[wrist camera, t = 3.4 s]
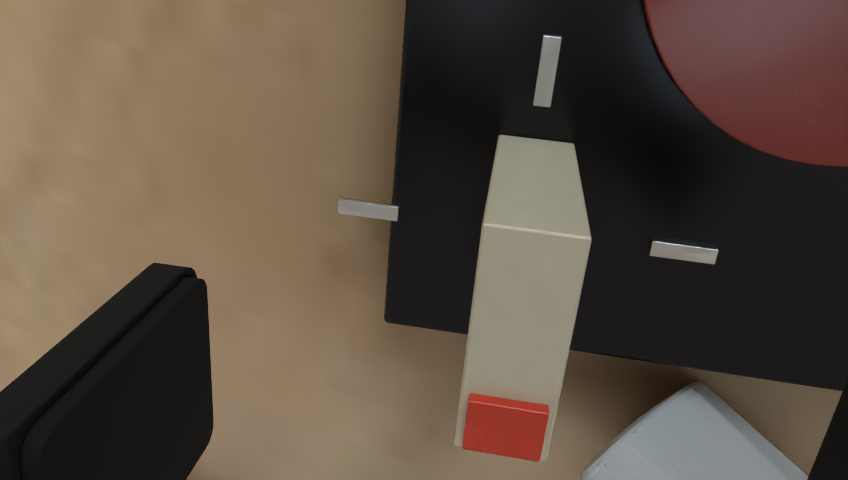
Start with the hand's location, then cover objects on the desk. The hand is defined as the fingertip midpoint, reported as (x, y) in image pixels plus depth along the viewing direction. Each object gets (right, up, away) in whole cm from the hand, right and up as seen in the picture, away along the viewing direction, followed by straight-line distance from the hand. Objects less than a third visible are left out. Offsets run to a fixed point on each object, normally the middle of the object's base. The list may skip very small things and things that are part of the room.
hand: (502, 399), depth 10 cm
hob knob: (+1, +3, +5) cm, 6 cm away
